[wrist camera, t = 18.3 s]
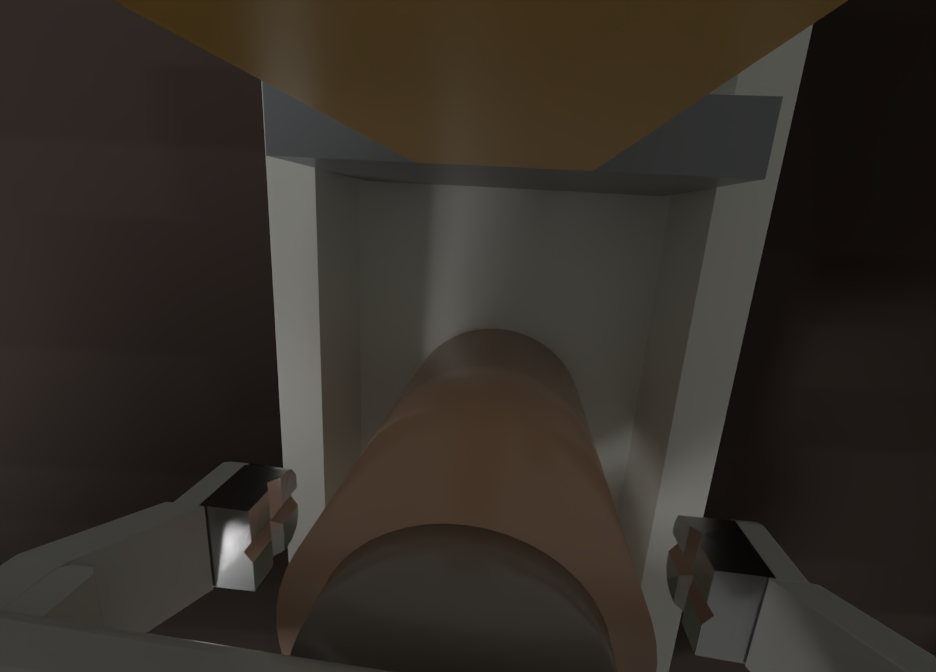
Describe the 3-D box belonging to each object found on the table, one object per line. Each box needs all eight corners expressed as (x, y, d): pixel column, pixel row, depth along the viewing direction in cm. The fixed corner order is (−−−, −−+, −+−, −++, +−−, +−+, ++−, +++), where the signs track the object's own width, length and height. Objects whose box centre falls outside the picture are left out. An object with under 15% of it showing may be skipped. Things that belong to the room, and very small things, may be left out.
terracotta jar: (568, 495, 15) (637, 892, 6) (407, 476, 16) (258, 817, 7) (590, 336, 14) (719, 559, 5) (411, 321, 14) (228, 496, 5)
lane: (613, 672, 18) (656, 880, 13) (344, 631, 19) (270, 805, 14) (746, -55, 12) (958, -313, 6) (331, -55, 13) (181, -275, 7)
